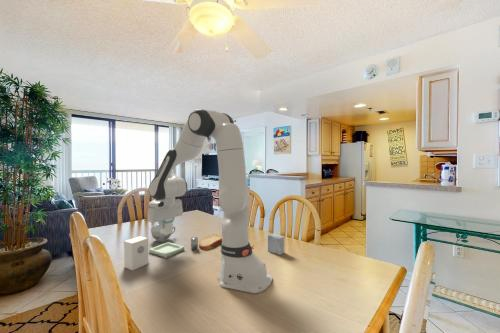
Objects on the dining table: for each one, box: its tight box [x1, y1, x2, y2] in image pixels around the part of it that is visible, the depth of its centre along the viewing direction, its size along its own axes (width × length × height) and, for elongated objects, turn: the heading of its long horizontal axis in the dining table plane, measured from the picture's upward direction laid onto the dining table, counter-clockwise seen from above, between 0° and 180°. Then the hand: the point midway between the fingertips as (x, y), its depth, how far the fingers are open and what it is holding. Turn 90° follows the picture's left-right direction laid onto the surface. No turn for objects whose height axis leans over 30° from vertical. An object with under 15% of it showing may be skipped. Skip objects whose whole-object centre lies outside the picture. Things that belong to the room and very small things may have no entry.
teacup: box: [150, 224, 176, 243], centre depth 141 cm, size 15×12×8 cm
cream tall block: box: [123, 235, 150, 271], centre depth 108 cm, size 7×8×12 cm
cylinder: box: [190, 236, 199, 251], centre depth 127 cm, size 4×4×6 cm
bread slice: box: [198, 233, 222, 251], centre depth 136 cm, size 18×18×4 cm
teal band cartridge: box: [160, 218, 174, 235], centre depth 123 cm, size 5×4×8 cm
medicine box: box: [267, 233, 285, 256], centre depth 123 cm, size 8×4×9 cm, turn 47°
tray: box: [148, 241, 185, 259], centre depth 124 cm, size 13×12×2 cm
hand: (166, 227), depth 123 cm, fingers closed on teal band cartridge, 4 cm apart
